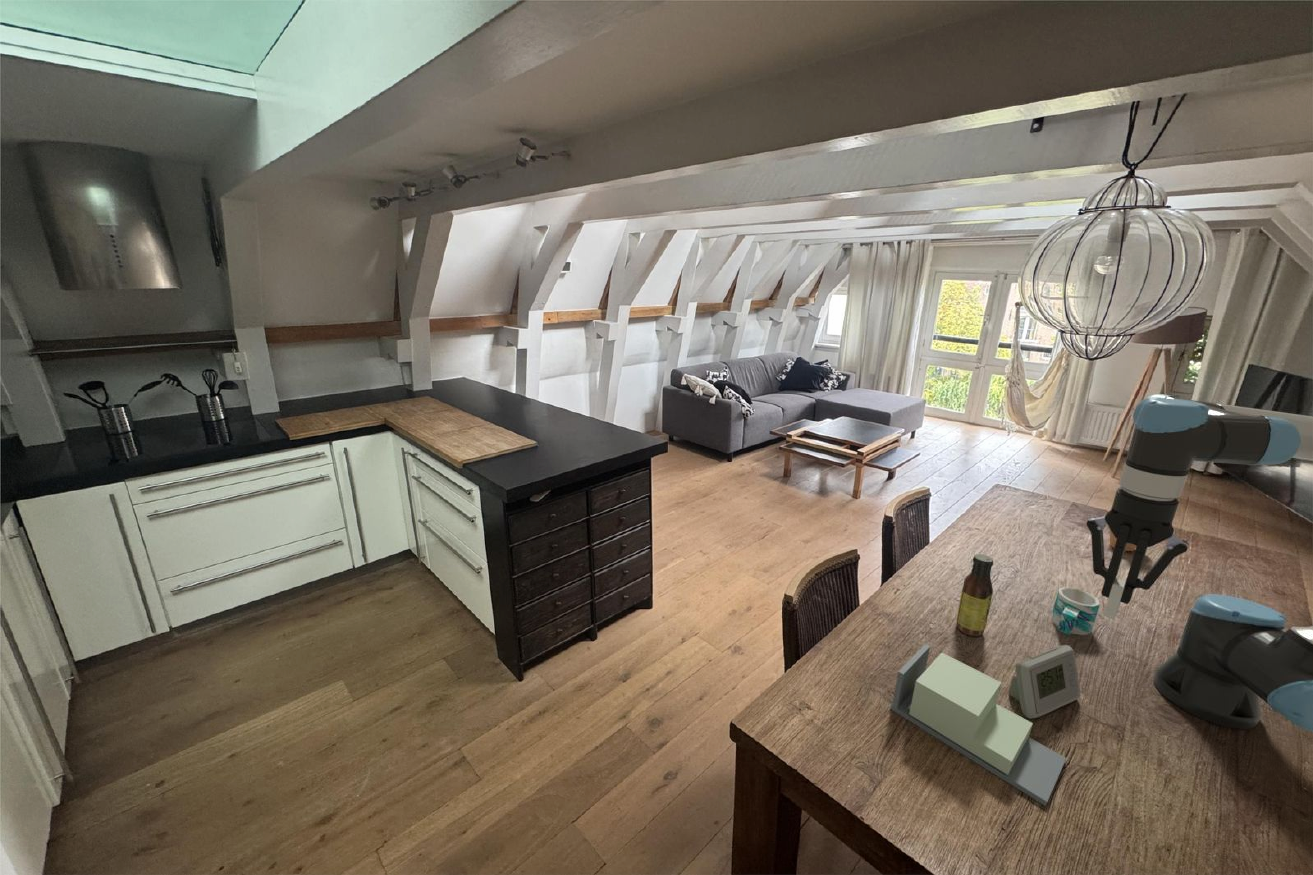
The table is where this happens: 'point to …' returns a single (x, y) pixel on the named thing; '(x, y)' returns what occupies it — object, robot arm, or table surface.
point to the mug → (1075, 611)
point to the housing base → (1028, 773)
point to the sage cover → (969, 712)
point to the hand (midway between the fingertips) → (1110, 614)
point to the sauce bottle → (976, 597)
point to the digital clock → (1046, 681)
